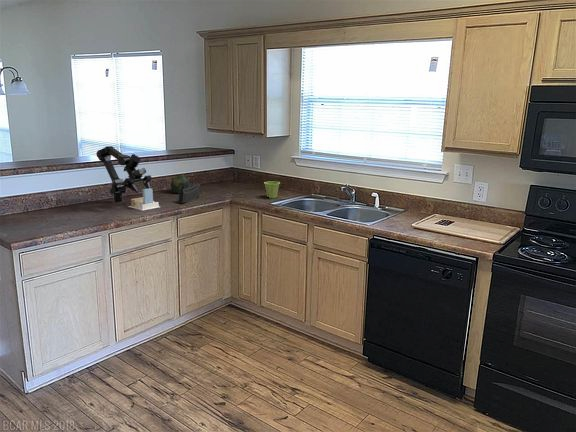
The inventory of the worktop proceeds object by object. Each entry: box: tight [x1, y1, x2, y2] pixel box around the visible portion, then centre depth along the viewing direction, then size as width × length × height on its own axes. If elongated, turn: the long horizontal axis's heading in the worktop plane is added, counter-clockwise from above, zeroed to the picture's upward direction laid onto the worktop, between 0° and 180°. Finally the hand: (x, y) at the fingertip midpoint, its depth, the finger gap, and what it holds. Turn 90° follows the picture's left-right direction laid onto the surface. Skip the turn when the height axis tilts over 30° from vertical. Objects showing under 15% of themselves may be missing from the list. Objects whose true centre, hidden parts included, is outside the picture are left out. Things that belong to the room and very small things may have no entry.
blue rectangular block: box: [142, 187, 154, 205], centre depth 287 cm, size 2×6×12 cm, turn 143°
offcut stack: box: [130, 196, 143, 208], centre depth 293 cm, size 7×10×4 cm
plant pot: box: [263, 181, 281, 199], centre depth 336 cm, size 12×12×11 cm
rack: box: [127, 200, 161, 211], centre depth 291 cm, size 16×14×4 cm
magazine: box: [177, 181, 203, 204], centre depth 319 cm, size 17×3×30 cm
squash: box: [170, 173, 191, 194], centre depth 345 cm, size 14×15×15 cm
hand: (143, 191), depth 288 cm, fingers open, 9 cm apart
